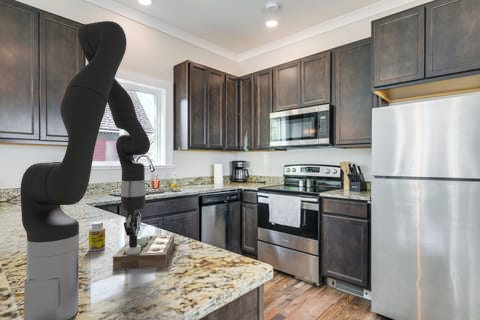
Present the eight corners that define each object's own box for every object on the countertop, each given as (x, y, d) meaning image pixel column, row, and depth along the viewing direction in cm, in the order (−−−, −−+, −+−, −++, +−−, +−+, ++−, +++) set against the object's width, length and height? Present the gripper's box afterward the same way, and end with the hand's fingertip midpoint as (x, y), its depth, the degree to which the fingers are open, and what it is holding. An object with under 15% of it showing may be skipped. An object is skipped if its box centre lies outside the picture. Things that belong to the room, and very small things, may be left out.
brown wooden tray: (165, 266, 83) (165, 253, 84) (112, 269, 81) (112, 255, 81) (174, 244, 106) (174, 233, 106) (133, 246, 104) (133, 235, 104)
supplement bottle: (89, 252, 97) (89, 225, 97) (88, 248, 102) (88, 222, 102) (106, 249, 100) (106, 223, 100) (104, 246, 105) (104, 220, 105)
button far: (148, 248, 99) (148, 238, 99) (136, 249, 98) (136, 238, 98) (151, 245, 103) (151, 234, 104) (139, 245, 103) (139, 235, 103)
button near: (138, 261, 84) (138, 248, 84) (123, 262, 83) (123, 249, 84) (142, 256, 89) (142, 244, 89) (128, 256, 88) (128, 245, 88)
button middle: (144, 250, 92) (144, 239, 92) (130, 251, 91) (130, 239, 91) (147, 246, 96) (147, 235, 96) (134, 247, 96) (134, 236, 96)
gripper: (140, 196, 80) (140, 253, 80) (149, 191, 93) (149, 240, 93) (114, 197, 79) (114, 254, 79) (127, 192, 92) (127, 241, 92)
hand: (133, 246), depth 86 cm, fingers closed
